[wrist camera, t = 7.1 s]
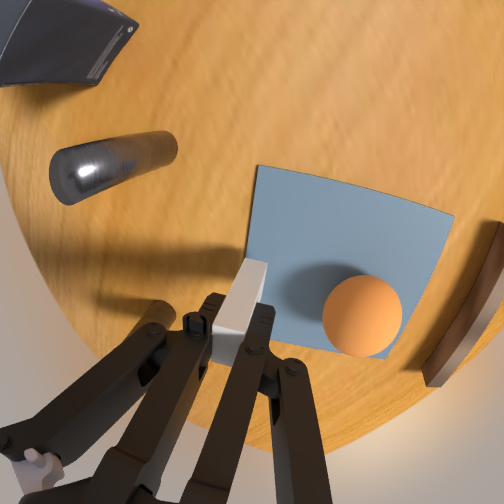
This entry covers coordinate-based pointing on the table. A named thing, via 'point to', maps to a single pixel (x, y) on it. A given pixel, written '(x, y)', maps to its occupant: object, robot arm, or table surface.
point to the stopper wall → (470, 317)
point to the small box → (59, 41)
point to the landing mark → (336, 248)
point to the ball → (362, 316)
